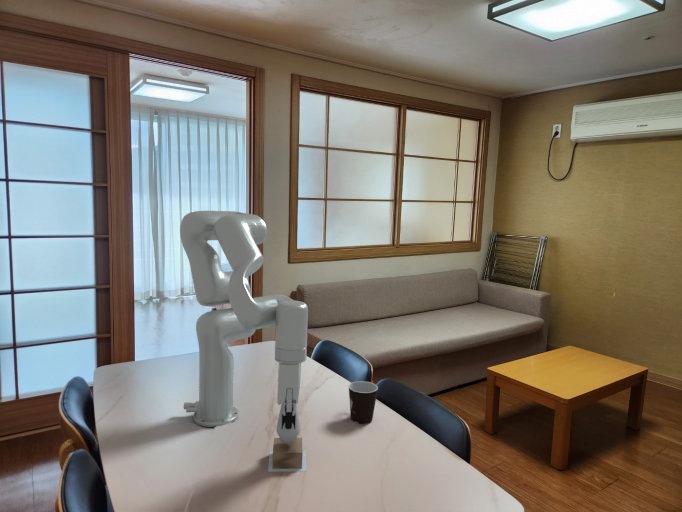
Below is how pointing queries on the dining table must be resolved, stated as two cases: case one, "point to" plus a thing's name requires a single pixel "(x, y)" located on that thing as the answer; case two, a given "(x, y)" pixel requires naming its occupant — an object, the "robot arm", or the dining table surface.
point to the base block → (287, 454)
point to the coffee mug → (362, 401)
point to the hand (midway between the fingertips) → (288, 425)
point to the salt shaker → (288, 434)
